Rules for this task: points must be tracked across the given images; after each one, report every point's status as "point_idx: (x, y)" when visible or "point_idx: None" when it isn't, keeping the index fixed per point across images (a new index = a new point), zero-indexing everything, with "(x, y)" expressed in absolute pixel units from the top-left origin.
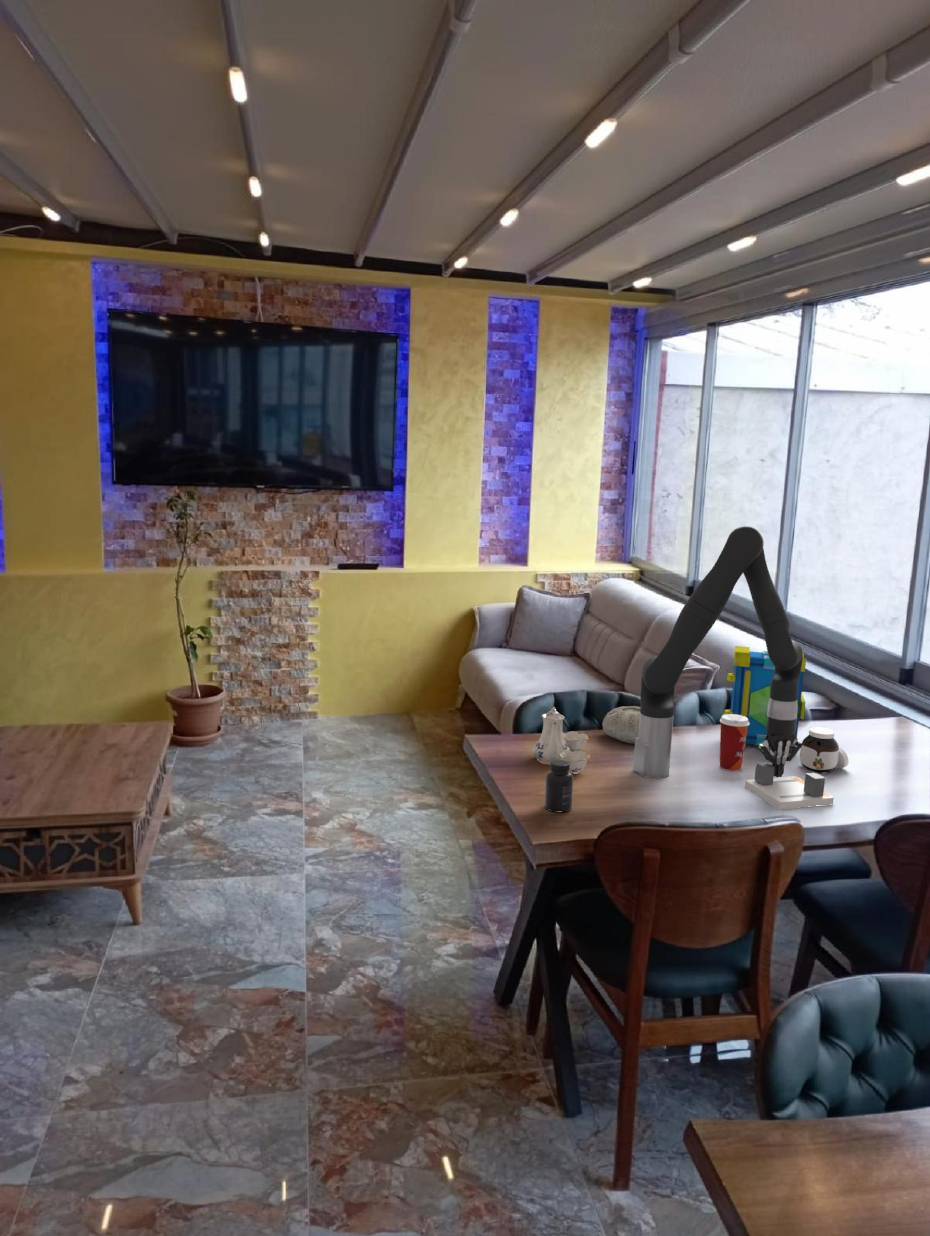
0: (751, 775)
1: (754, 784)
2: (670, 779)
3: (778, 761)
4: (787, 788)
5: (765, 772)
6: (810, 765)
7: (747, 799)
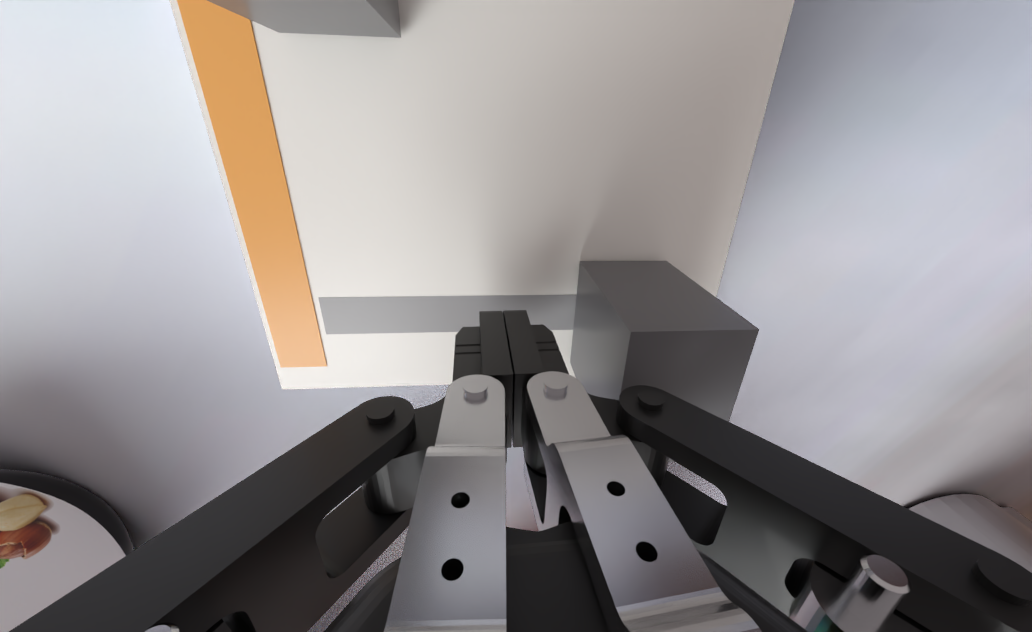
0: (510, 481)
1: None
2: (928, 477)
3: (561, 397)
4: (504, 167)
5: (710, 305)
6: (78, 533)
7: (828, 159)
